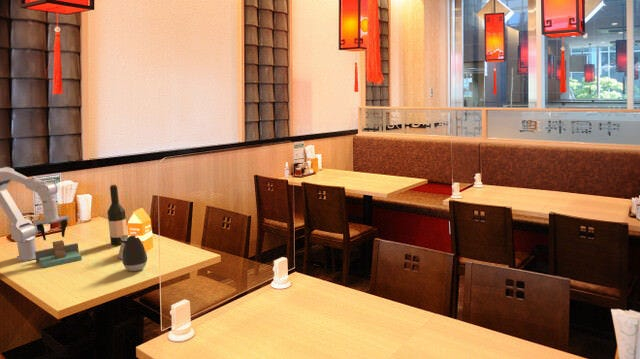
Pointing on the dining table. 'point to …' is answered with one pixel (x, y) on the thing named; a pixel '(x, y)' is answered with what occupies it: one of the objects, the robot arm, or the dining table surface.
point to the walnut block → (59, 249)
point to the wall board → (48, 258)
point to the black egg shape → (134, 254)
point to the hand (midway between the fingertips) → (54, 238)
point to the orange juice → (141, 228)
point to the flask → (122, 246)
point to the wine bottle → (116, 218)
